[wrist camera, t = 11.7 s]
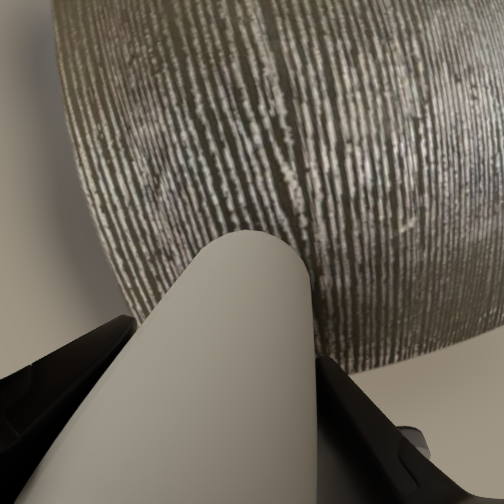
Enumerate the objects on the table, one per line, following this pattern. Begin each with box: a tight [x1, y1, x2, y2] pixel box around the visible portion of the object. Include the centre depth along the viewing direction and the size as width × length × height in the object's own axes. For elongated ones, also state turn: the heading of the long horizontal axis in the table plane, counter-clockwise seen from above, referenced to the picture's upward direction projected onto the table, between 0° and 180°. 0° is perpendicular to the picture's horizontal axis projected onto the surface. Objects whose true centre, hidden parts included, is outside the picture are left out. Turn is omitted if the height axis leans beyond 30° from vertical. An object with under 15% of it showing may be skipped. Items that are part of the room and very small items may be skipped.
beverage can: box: [14, 230, 317, 504], centre depth 8 cm, size 5×5×12 cm
